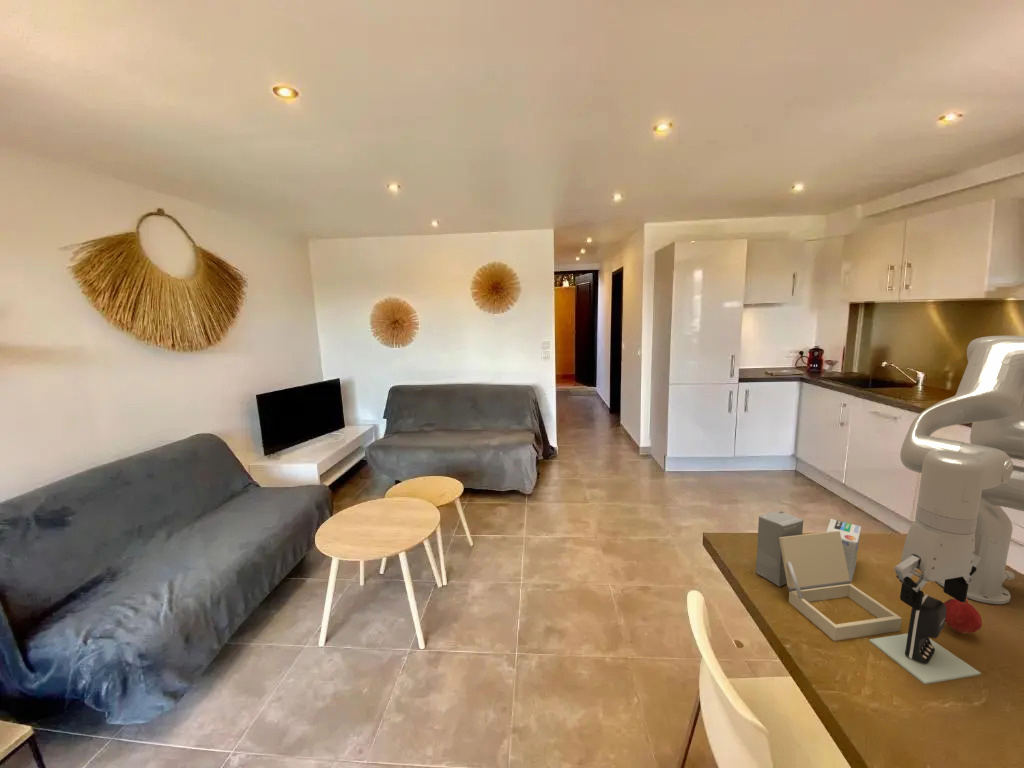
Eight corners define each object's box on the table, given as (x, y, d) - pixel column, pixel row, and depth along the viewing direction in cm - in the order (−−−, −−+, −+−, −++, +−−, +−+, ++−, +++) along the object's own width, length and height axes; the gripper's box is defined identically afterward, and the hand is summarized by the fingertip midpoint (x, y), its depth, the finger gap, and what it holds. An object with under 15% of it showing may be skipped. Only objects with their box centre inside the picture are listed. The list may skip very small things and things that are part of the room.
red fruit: (931, 626, 86) (937, 592, 85) (945, 618, 88) (951, 585, 87) (970, 646, 81) (977, 611, 79) (984, 637, 83) (991, 602, 82)
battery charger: (931, 670, 75) (940, 615, 73) (903, 656, 78) (911, 603, 76) (941, 652, 79) (950, 600, 77) (914, 640, 82) (922, 589, 80)
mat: (919, 633, 84) (919, 631, 84) (980, 674, 75) (980, 672, 74) (869, 640, 83) (869, 639, 83) (924, 684, 73) (924, 682, 73)
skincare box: (779, 588, 99) (785, 528, 96) (752, 571, 105) (756, 514, 103) (801, 578, 102) (807, 520, 100) (773, 563, 109) (778, 507, 106)
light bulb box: (825, 553, 112) (829, 517, 111) (857, 563, 108) (861, 525, 106) (819, 571, 105) (823, 533, 103) (852, 582, 100) (858, 542, 98)
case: (830, 582, 101) (836, 529, 98) (899, 630, 85) (909, 570, 83) (774, 589, 99) (778, 536, 96) (834, 640, 83) (841, 578, 81)
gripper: (960, 503, 79) (947, 581, 82) (882, 514, 76) (872, 594, 80) (1012, 523, 71) (995, 608, 75) (927, 536, 69) (914, 623, 72)
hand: (932, 601), depth 77 cm, fingers open, 9 cm apart
